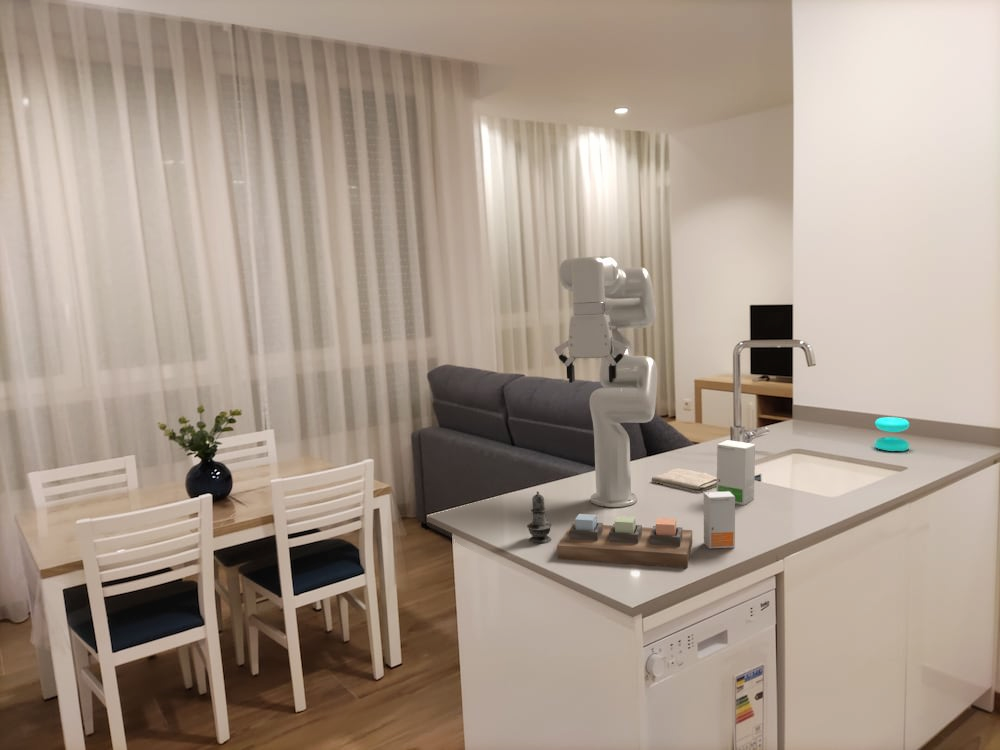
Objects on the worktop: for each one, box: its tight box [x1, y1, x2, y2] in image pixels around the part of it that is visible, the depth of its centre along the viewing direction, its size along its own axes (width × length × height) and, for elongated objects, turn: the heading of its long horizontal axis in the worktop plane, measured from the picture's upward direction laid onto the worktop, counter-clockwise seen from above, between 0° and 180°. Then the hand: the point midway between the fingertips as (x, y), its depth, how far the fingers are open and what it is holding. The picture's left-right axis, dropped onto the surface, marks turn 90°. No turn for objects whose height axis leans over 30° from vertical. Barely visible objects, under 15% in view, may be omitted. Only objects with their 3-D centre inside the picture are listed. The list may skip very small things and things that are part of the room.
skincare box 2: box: [716, 439, 756, 506], centre depth 196 cm, size 8×7×16 cm
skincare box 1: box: [703, 491, 736, 550], centre depth 164 cm, size 6×4×12 cm
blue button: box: [574, 513, 597, 531], centre depth 167 cm, size 4×4×3 cm
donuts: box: [874, 416, 910, 452], centre depth 241 cm, size 10×10×10 cm
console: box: [556, 522, 693, 569], centre depth 165 cm, size 15×28×5 cm, turn 71°
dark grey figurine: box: [526, 491, 552, 545], centre depth 174 cm, size 6×6×12 cm
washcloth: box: [650, 467, 717, 494], centre depth 214 cm, size 12×18×3 cm, turn 41°
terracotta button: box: [655, 517, 677, 536], centre depth 161 cm, size 4×4×3 cm
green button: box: [614, 515, 637, 533], centre depth 164 cm, size 4×4×3 cm
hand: (591, 381), depth 174 cm, fingers open, 9 cm apart
